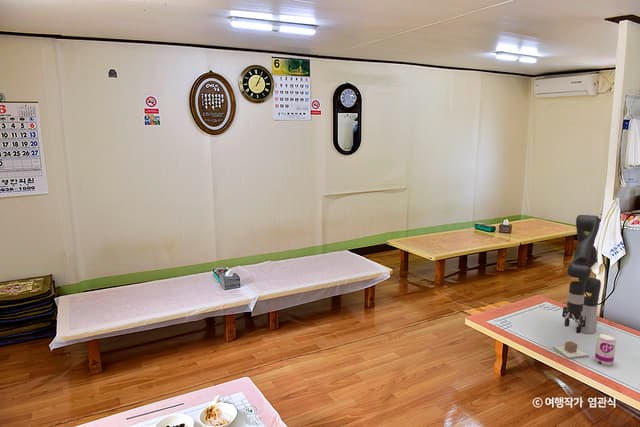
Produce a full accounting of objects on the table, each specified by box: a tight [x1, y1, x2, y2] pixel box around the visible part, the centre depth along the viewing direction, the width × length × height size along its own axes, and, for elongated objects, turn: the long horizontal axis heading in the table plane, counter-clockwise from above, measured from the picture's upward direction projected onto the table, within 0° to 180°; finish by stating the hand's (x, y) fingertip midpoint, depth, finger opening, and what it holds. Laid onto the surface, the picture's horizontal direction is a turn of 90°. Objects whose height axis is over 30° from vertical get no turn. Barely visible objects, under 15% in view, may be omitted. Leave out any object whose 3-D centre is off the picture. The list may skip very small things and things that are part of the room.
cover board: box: [553, 340, 588, 359], centre depth 242 cm, size 11×11×5 cm
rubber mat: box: [551, 346, 590, 360], centre depth 242 cm, size 13×13×1 cm
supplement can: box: [594, 333, 617, 367], centre depth 231 cm, size 8×8×15 cm
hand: (572, 329), depth 239 cm, fingers open, 8 cm apart
